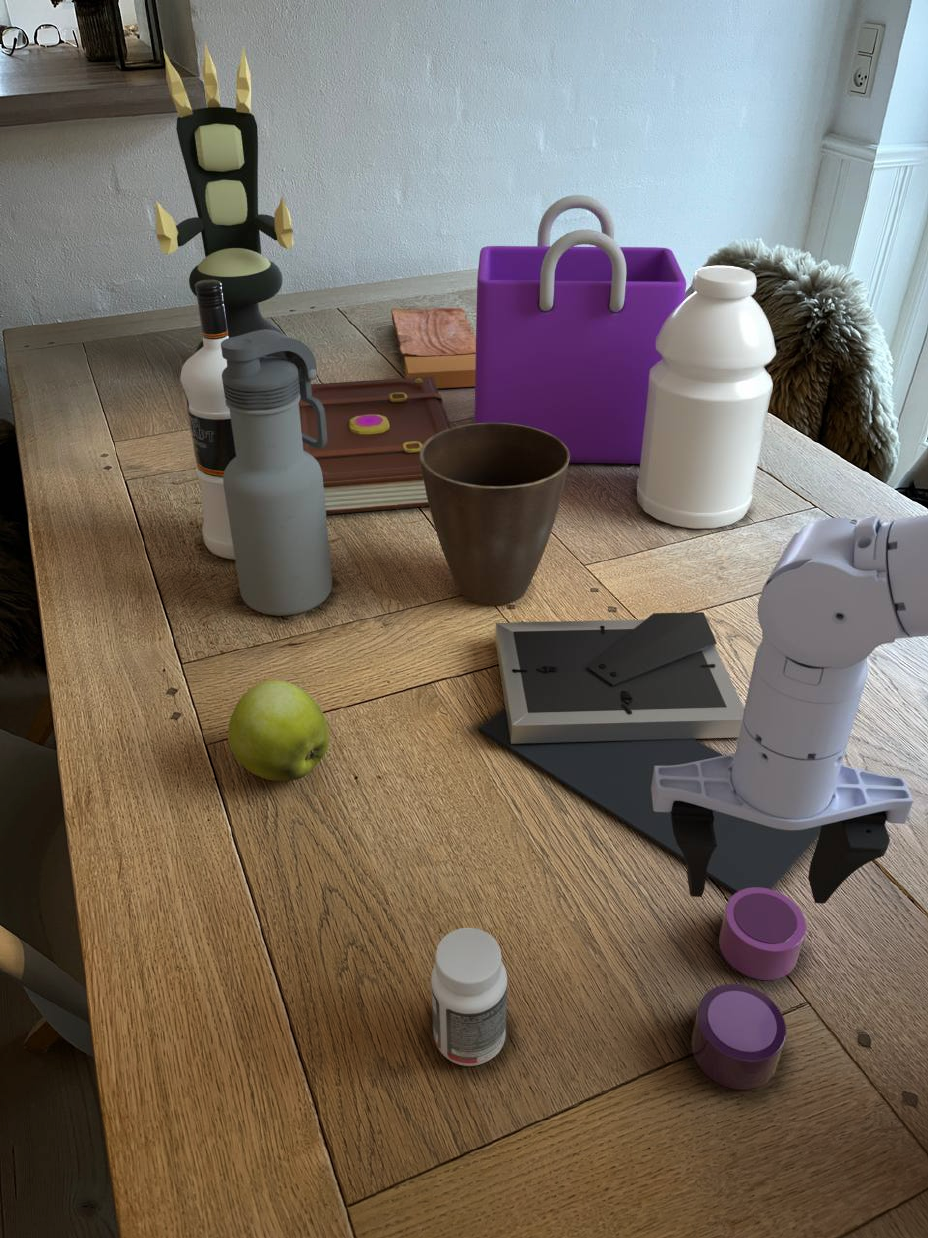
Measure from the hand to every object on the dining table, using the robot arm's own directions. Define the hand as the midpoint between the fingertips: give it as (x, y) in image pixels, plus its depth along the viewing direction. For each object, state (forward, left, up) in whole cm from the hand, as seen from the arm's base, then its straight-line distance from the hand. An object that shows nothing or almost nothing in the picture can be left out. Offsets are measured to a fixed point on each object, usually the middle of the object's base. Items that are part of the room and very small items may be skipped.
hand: (755, 887), depth 64 cm
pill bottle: (+10, +16, -9) cm, 21 cm away
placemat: (+16, -12, -9) cm, 22 cm away
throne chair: (+118, -44, -9) cm, 126 cm away
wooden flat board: (+99, -69, -9) cm, 121 cm away
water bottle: (+60, -8, -9) cm, 61 cm away
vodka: (+72, -11, -9) cm, 74 cm away
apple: (+39, +9, -9) cm, 41 cm away
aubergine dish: (-3, +5, -9) cm, 11 cm away
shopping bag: (+63, -59, -9) cm, 87 cm away
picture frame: (+25, -19, -9) cm, 33 cm away
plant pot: (+45, -24, -9) cm, 52 cm away
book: (+79, -36, -9) cm, 87 cm away
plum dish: (0, -3, -9) cm, 10 cm away
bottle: (+40, -55, -9) cm, 69 cm away
